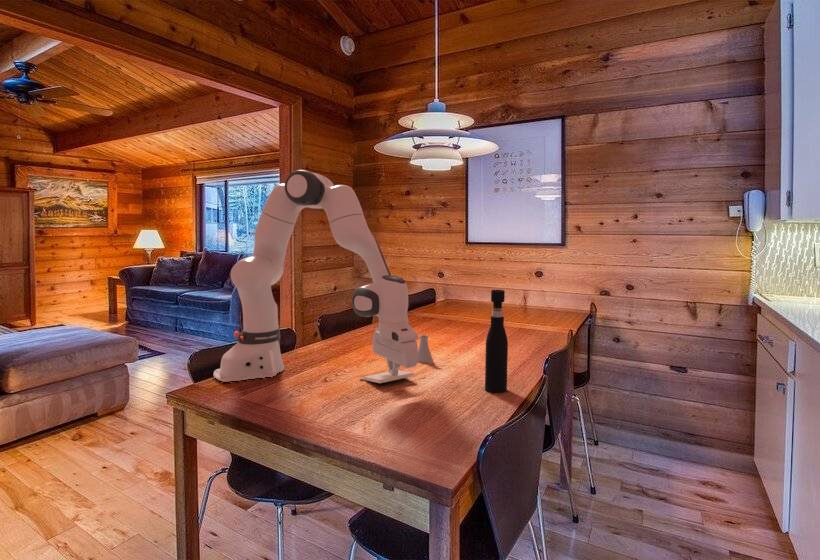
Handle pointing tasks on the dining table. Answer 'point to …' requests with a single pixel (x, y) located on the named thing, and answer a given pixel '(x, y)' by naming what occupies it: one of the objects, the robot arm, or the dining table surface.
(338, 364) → the dining table surface
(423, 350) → the flask
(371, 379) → the tile
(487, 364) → the wine bottle
